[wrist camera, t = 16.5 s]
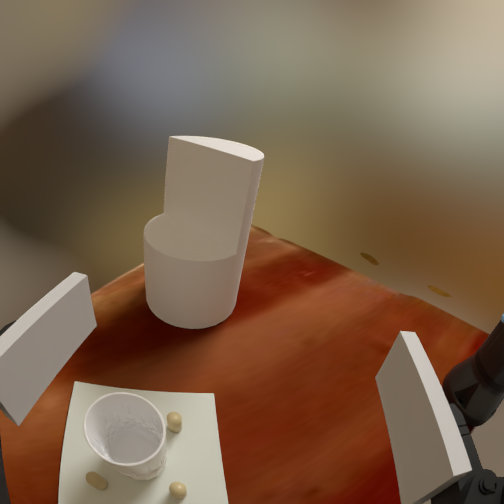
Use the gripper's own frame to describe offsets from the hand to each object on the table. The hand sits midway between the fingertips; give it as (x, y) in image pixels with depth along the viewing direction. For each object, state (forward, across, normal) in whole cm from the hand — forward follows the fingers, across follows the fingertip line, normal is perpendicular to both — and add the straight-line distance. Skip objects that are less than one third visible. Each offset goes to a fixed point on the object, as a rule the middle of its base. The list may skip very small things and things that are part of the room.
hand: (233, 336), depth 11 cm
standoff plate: (+4, -10, -27) cm, 29 cm away
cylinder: (+36, -12, -23) cm, 45 cm away
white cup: (+3, -10, -26) cm, 28 cm away
